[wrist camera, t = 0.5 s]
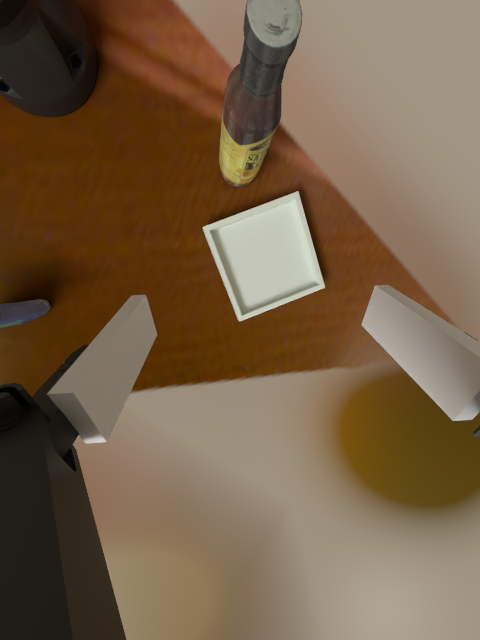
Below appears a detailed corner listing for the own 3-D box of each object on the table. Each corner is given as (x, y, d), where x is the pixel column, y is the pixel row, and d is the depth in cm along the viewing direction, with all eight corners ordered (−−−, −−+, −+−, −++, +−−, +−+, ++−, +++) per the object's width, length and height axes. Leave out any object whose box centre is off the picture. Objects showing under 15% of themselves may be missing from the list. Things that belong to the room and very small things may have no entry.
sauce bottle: (243, 197, 35) (280, 97, 15) (211, 171, 34) (207, 27, 14) (266, 161, 34) (334, 10, 15) (234, 134, 33) (262, -72, 14)
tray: (203, 230, 35) (202, 227, 33) (292, 197, 36) (298, 191, 33) (237, 318, 39) (239, 321, 36) (318, 286, 39) (325, 287, 37)
